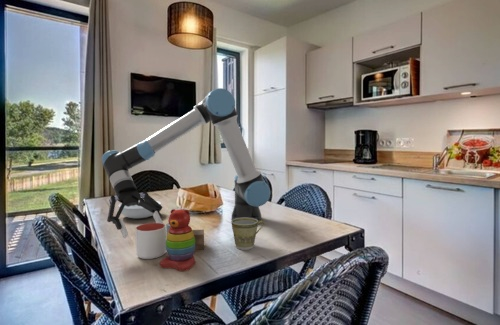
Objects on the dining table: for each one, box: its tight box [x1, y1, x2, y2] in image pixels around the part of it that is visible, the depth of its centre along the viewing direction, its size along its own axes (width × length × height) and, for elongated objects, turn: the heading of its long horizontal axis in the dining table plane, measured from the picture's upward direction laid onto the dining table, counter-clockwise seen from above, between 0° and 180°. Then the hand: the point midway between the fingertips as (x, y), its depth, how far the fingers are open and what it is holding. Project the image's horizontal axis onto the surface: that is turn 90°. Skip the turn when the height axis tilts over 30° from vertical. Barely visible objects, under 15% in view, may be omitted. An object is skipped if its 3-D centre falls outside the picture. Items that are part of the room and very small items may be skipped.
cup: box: [135, 222, 167, 260], centre depth 103 cm, size 10×10×10 cm
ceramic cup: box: [231, 217, 265, 251], centre depth 110 cm, size 13×10×10 cm
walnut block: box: [192, 229, 205, 252], centre depth 109 cm, size 6×6×6 cm
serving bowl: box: [118, 200, 162, 220], centre depth 154 cm, size 21×21×7 cm
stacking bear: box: [159, 208, 196, 272], centre depth 95 cm, size 11×10×18 cm
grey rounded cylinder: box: [165, 222, 171, 239], centre depth 116 cm, size 6×6×7 cm
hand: (144, 231), depth 104 cm, fingers open, 13 cm apart
